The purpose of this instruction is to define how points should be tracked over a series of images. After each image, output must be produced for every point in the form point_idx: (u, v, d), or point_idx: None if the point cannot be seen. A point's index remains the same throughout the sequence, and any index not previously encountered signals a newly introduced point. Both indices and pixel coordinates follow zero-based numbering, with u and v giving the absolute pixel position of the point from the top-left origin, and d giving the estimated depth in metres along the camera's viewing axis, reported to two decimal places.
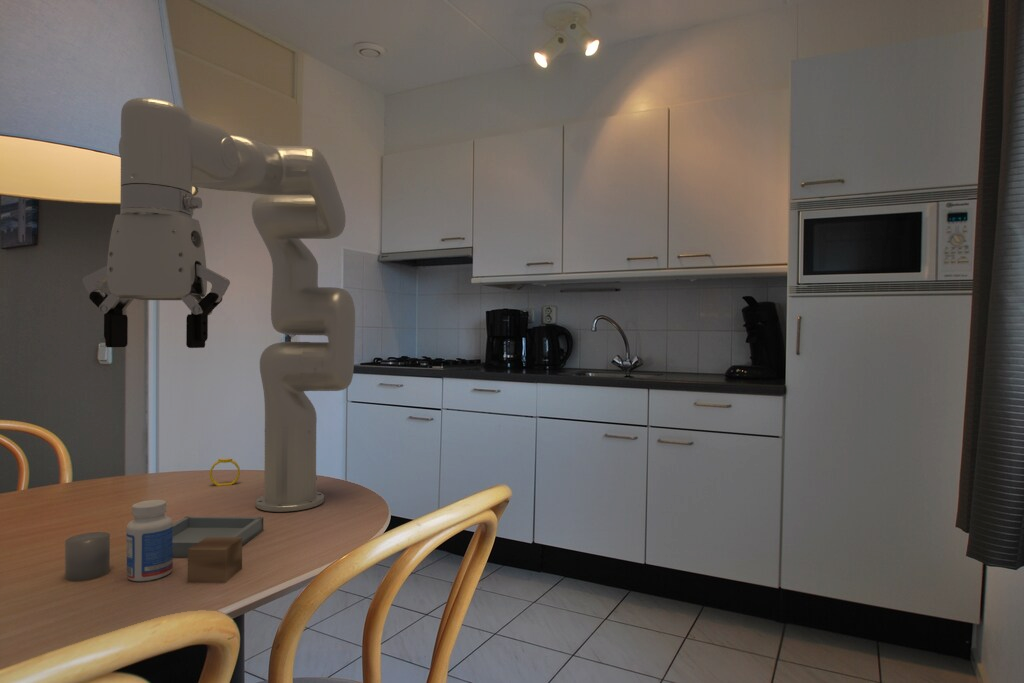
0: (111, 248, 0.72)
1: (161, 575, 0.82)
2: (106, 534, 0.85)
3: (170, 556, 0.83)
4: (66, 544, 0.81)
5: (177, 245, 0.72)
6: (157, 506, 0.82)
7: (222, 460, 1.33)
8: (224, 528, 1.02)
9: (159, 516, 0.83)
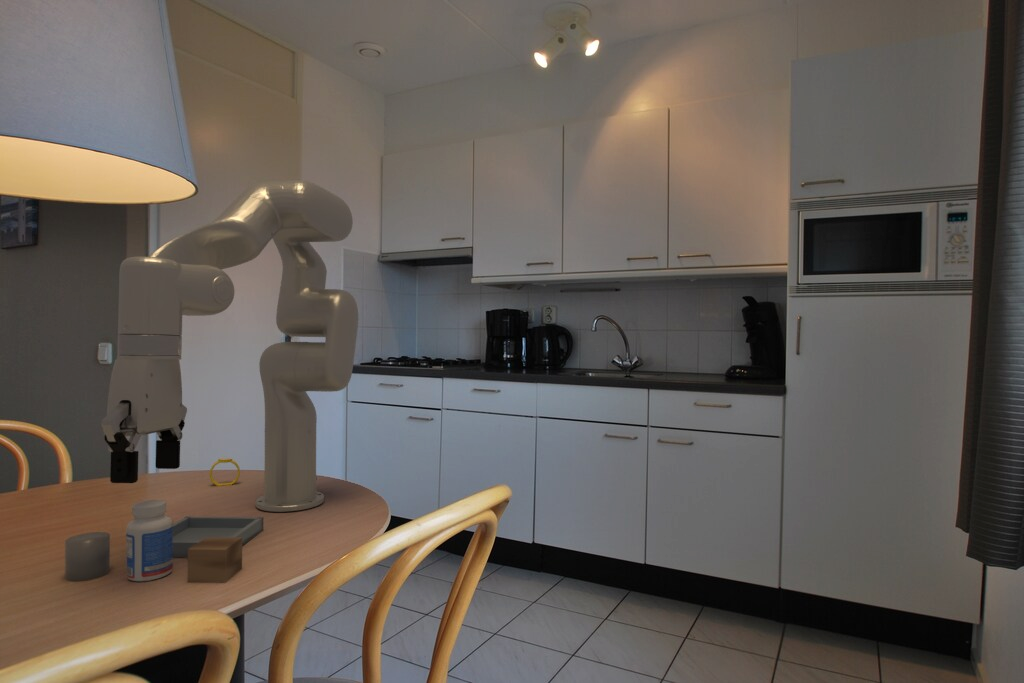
0: (146, 390, 0.79)
1: (161, 575, 0.82)
2: (106, 534, 0.85)
3: (170, 556, 0.83)
4: (66, 544, 0.81)
5: (180, 384, 0.87)
6: (157, 506, 0.82)
7: (222, 460, 1.33)
8: (224, 528, 1.02)
9: (159, 516, 0.83)
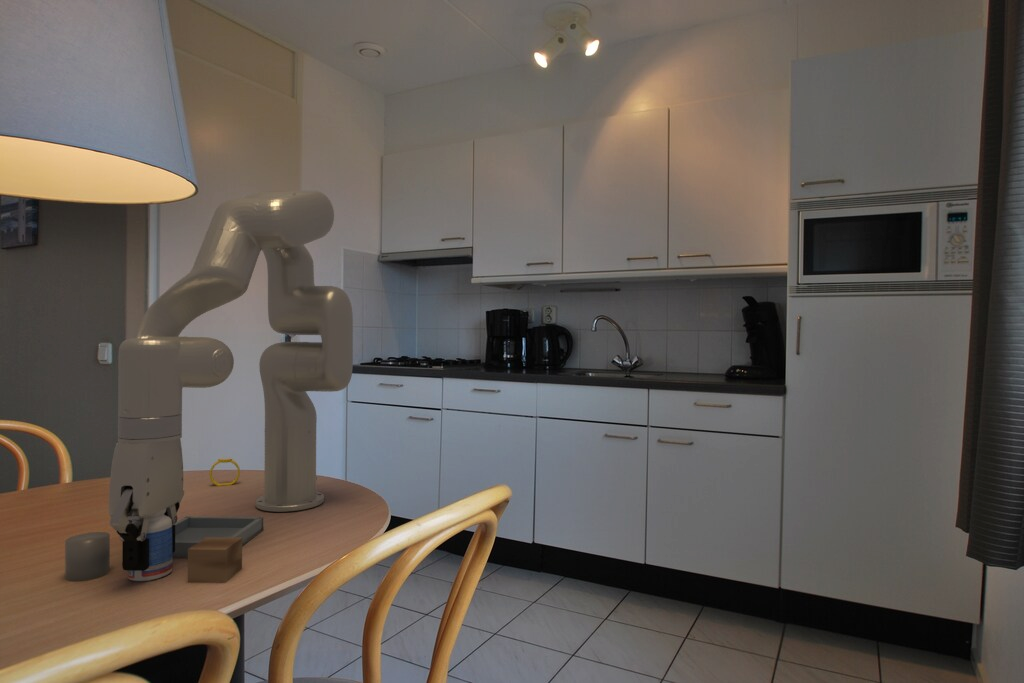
0: (147, 475, 0.79)
1: (161, 575, 0.82)
2: (106, 534, 0.85)
3: (170, 556, 0.83)
4: (66, 544, 0.81)
5: (181, 460, 0.87)
6: None
7: (222, 460, 1.33)
8: (224, 528, 1.02)
9: (158, 516, 0.83)
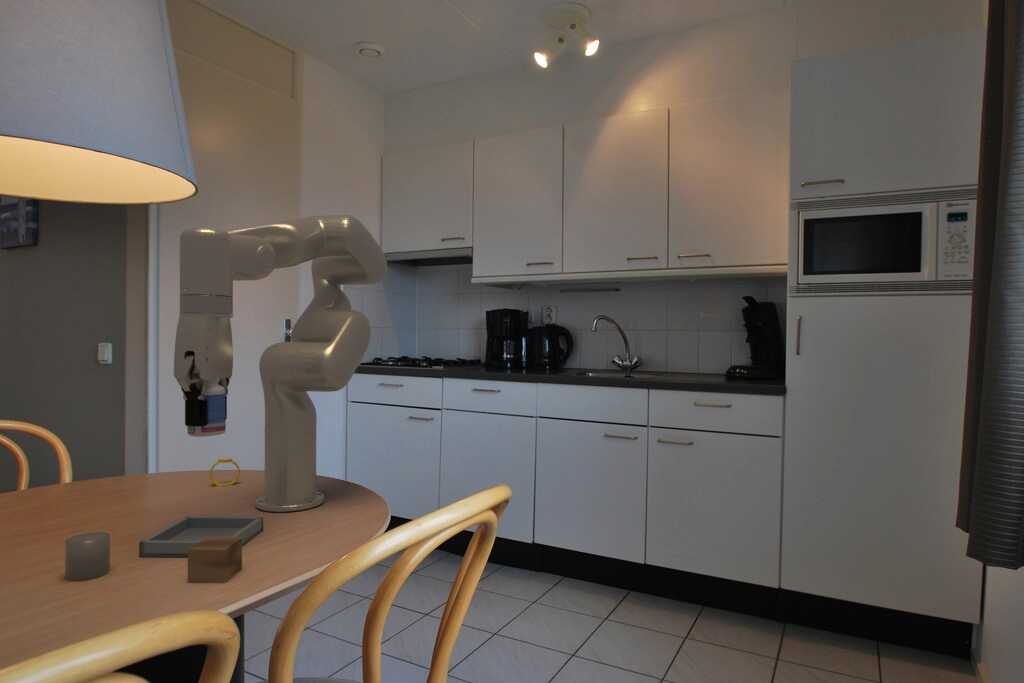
0: (206, 343, 0.92)
1: (217, 433, 0.95)
2: (106, 534, 0.85)
3: (224, 418, 0.97)
4: (66, 544, 0.81)
5: (231, 339, 1.00)
6: None
7: (222, 460, 1.33)
8: (224, 528, 1.02)
9: (214, 383, 0.96)
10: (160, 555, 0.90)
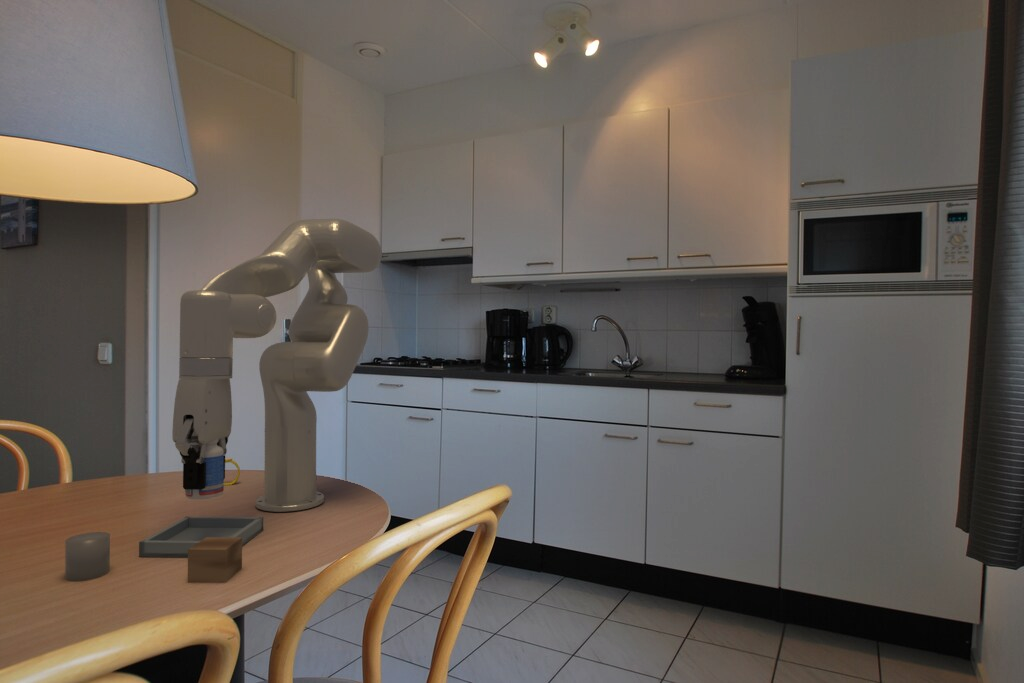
0: (205, 406, 0.92)
1: (215, 495, 0.95)
2: (106, 534, 0.85)
3: (222, 480, 0.96)
4: (66, 544, 0.81)
5: (230, 399, 1.00)
6: None
7: None
8: (224, 528, 1.02)
9: (213, 444, 0.95)
10: (160, 555, 0.90)
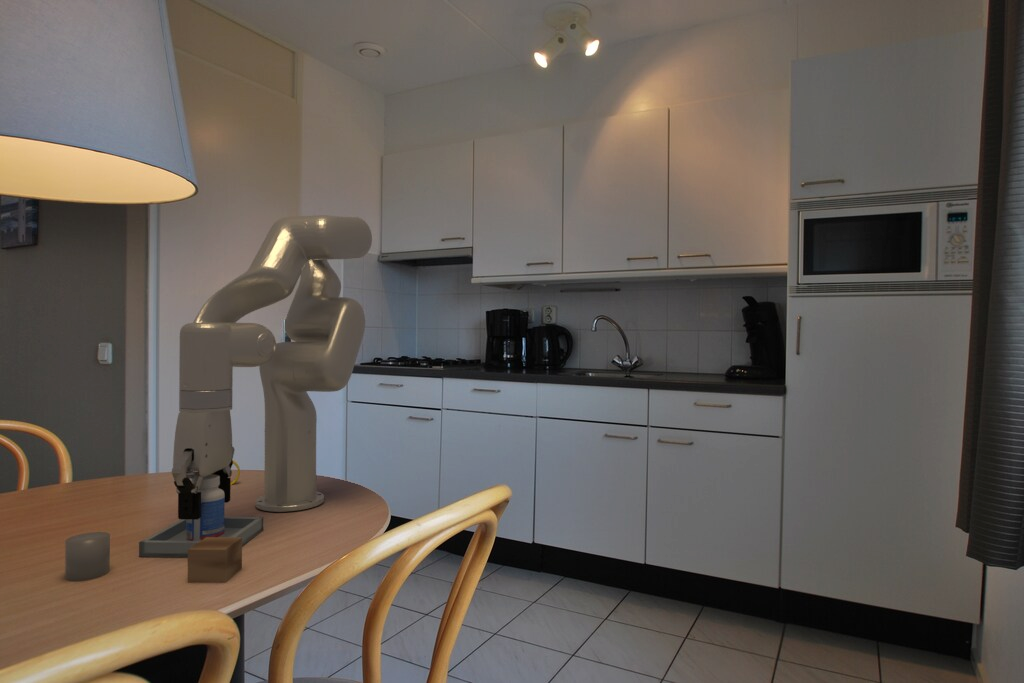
0: (205, 439, 0.92)
1: None
2: (106, 534, 0.85)
3: (223, 523, 0.96)
4: (66, 544, 0.81)
5: (230, 429, 1.00)
6: (213, 479, 0.95)
7: None
8: (224, 528, 1.02)
9: (214, 488, 0.96)
10: (160, 555, 0.90)
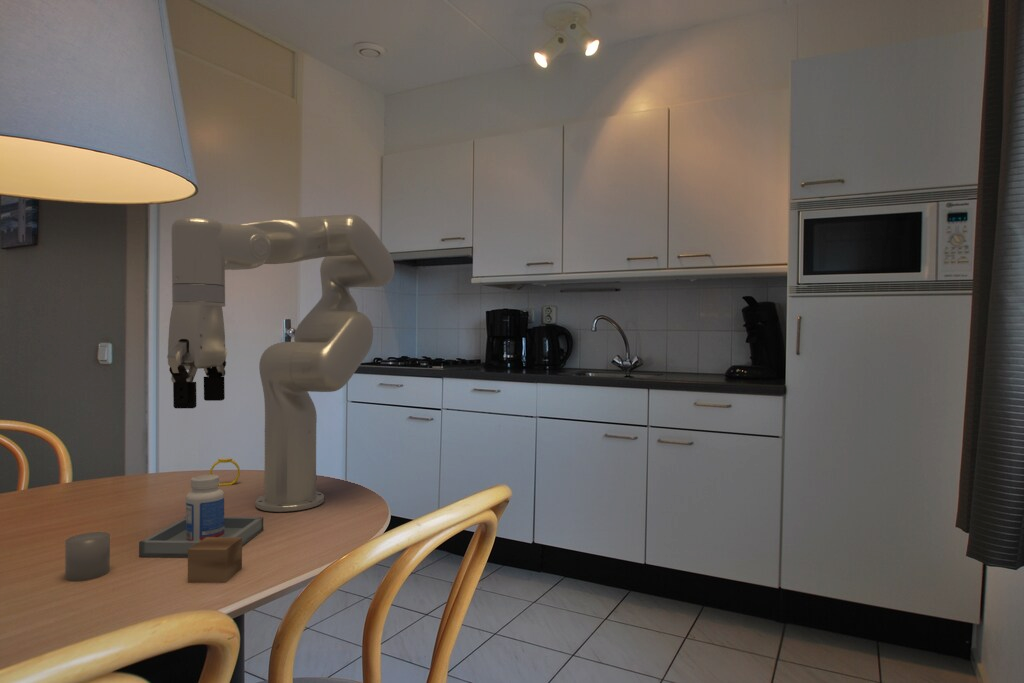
0: (200, 331, 0.93)
1: None
2: (106, 534, 0.85)
3: (223, 523, 0.96)
4: (66, 544, 0.81)
5: (223, 328, 1.01)
6: (212, 479, 0.95)
7: (222, 460, 1.33)
8: (224, 528, 1.02)
9: (213, 488, 0.96)
10: (160, 555, 0.90)
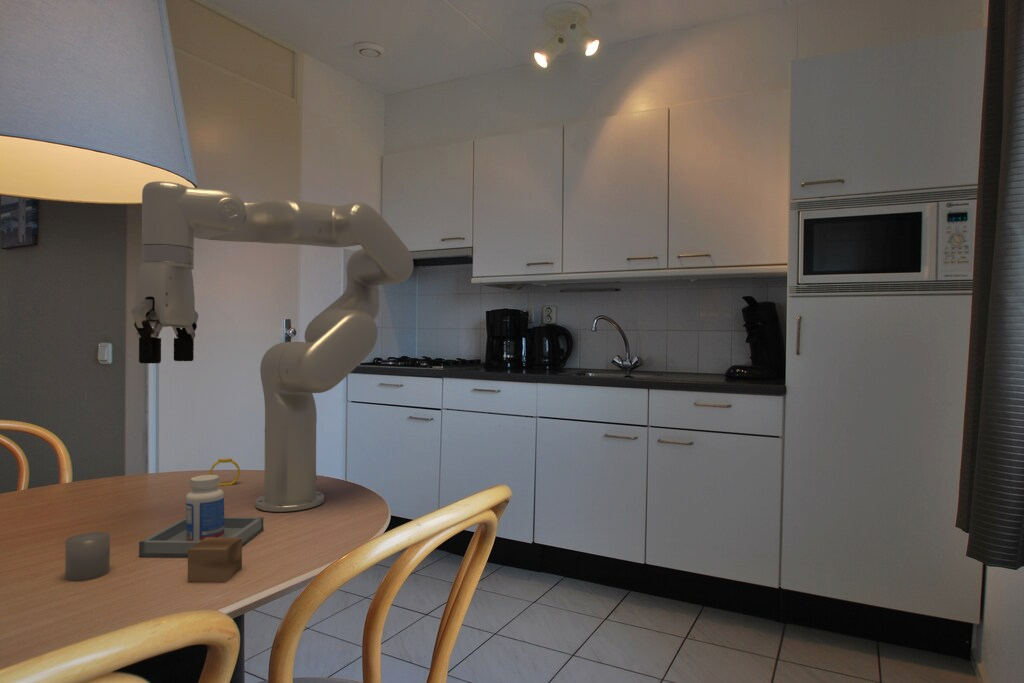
0: (166, 289, 0.97)
1: None
2: (106, 534, 0.85)
3: (222, 523, 0.96)
4: (66, 544, 0.81)
5: (193, 291, 1.05)
6: (212, 479, 0.95)
7: (222, 460, 1.33)
8: (224, 528, 1.02)
9: (213, 488, 0.96)
10: (160, 555, 0.90)
